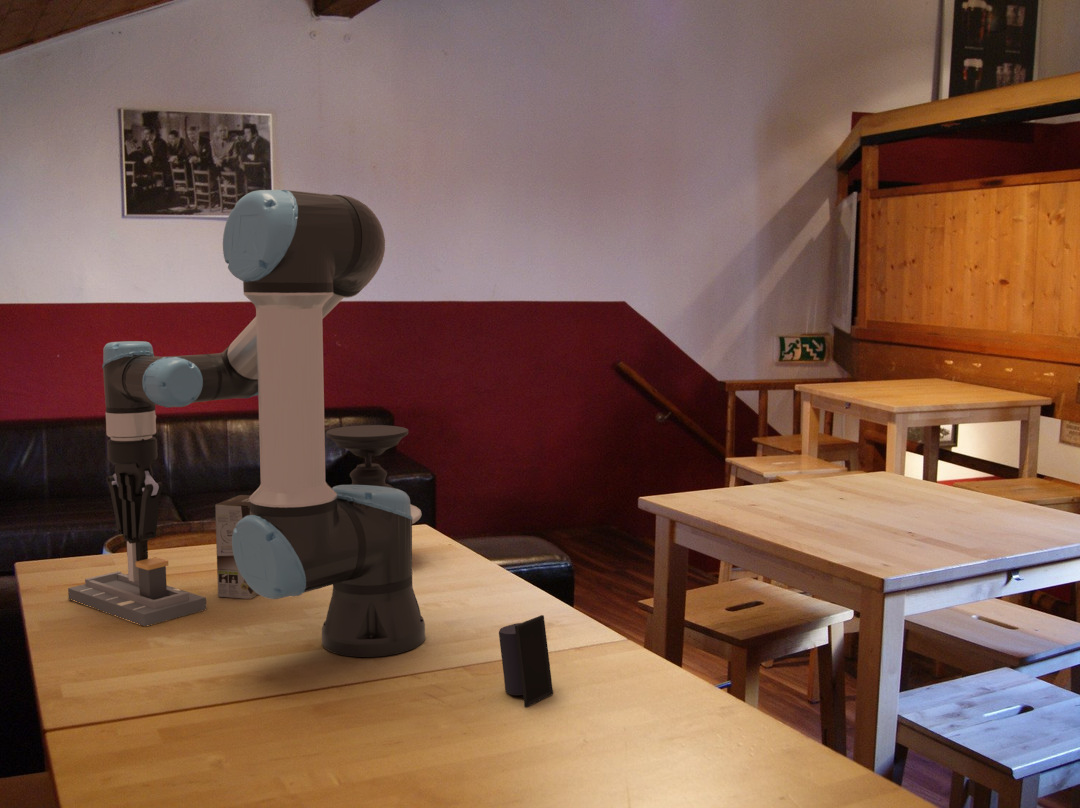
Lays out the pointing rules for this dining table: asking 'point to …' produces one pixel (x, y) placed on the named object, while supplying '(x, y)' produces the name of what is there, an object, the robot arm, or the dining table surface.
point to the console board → (134, 599)
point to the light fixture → (370, 452)
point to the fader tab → (152, 577)
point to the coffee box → (230, 548)
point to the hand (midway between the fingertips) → (138, 579)
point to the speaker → (526, 660)
